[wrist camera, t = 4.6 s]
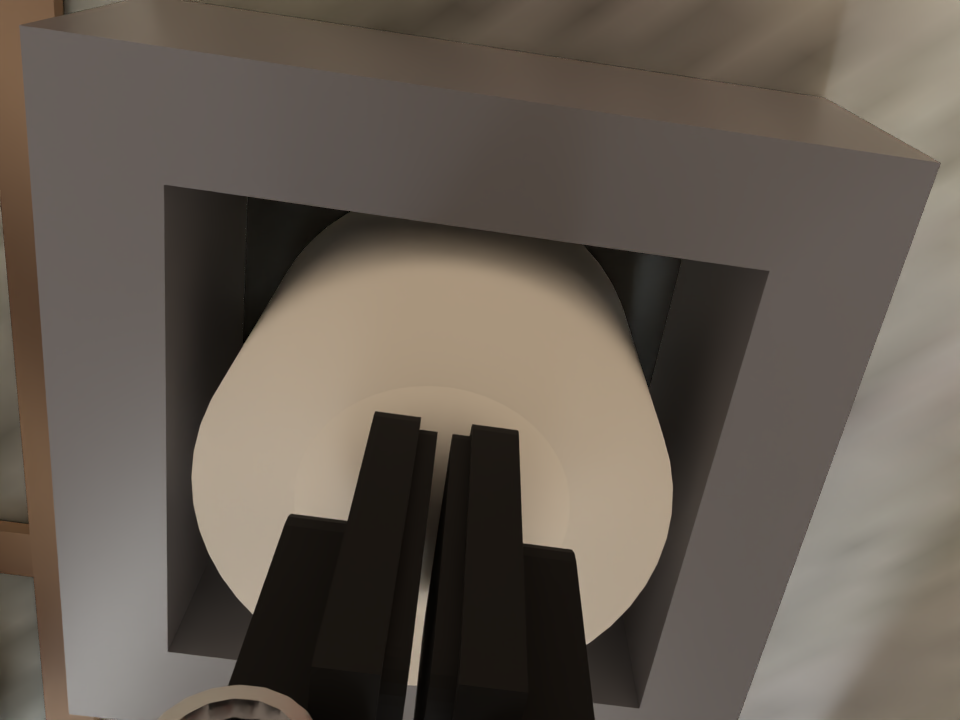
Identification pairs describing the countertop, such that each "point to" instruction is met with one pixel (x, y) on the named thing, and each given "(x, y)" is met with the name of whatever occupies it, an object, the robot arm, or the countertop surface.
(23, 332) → the track
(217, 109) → the dome housing
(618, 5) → the countertop surface
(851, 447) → the countertop surface
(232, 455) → the dome
